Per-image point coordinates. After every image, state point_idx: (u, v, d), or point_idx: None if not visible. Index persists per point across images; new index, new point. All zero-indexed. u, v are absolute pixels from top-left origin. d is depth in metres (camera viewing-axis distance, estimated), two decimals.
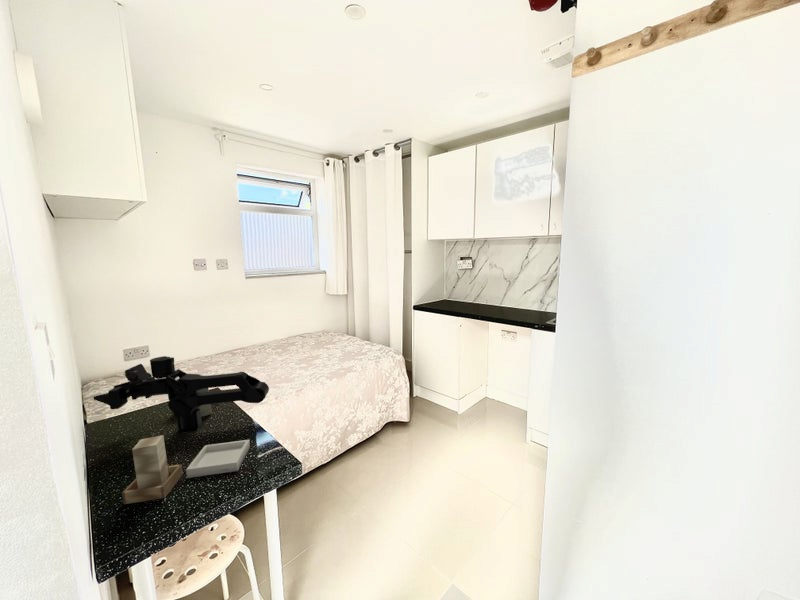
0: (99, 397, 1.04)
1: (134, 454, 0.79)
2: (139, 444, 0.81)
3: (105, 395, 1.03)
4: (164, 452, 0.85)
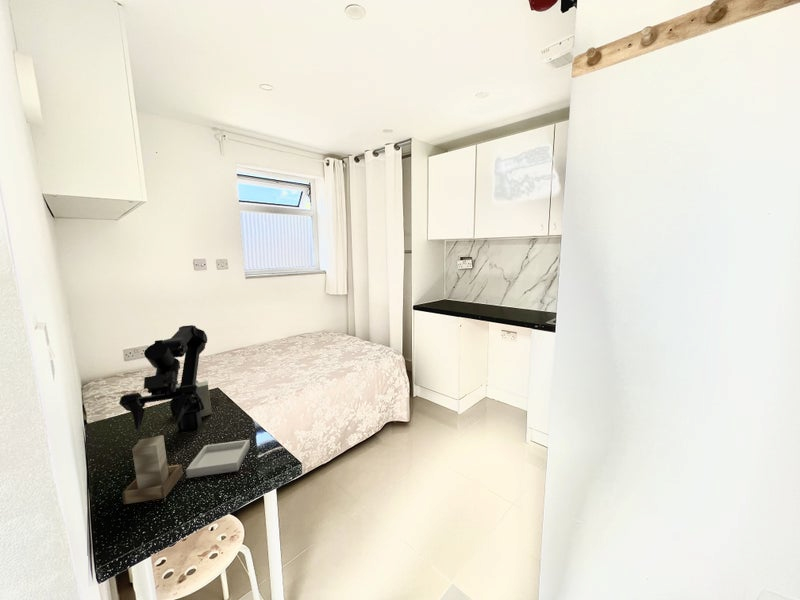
0: (180, 414, 0.91)
1: (134, 454, 0.79)
2: (139, 444, 0.81)
3: (183, 405, 0.92)
4: (164, 452, 0.85)
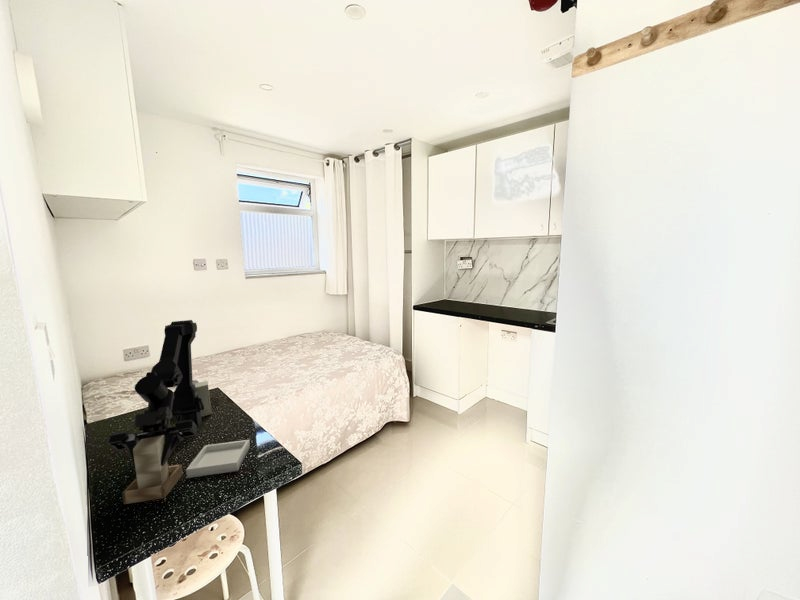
0: (166, 455, 0.83)
1: (135, 454, 0.79)
2: (140, 443, 0.81)
3: (170, 445, 0.84)
4: None
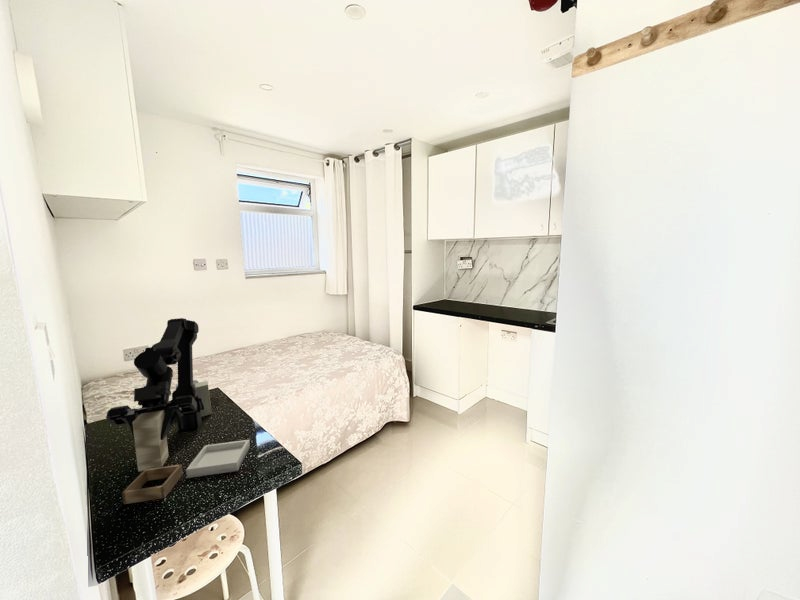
0: (166, 430, 0.83)
1: (134, 427, 0.78)
2: (139, 417, 0.80)
3: (169, 420, 0.84)
4: None
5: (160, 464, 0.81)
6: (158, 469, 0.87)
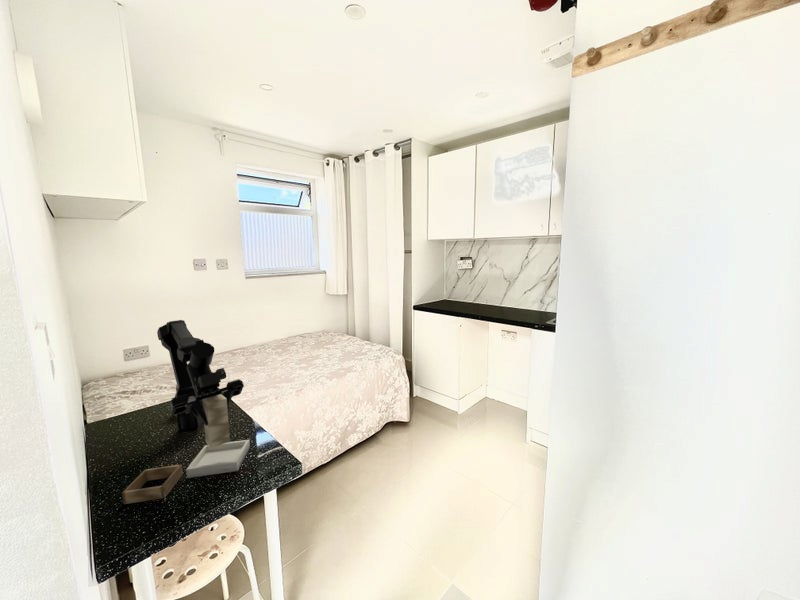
0: (228, 410, 0.94)
1: (208, 408, 0.88)
2: (207, 401, 0.90)
3: None
4: None
5: (228, 439, 0.93)
6: (158, 469, 0.87)
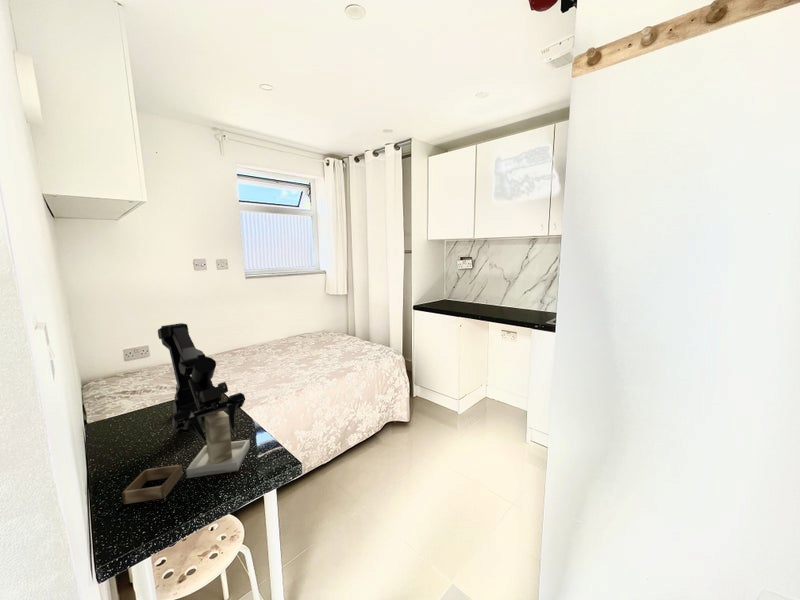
0: (233, 422, 0.96)
1: (211, 426, 0.89)
2: (210, 418, 0.91)
3: None
4: None
5: (231, 455, 0.93)
6: (158, 469, 0.87)
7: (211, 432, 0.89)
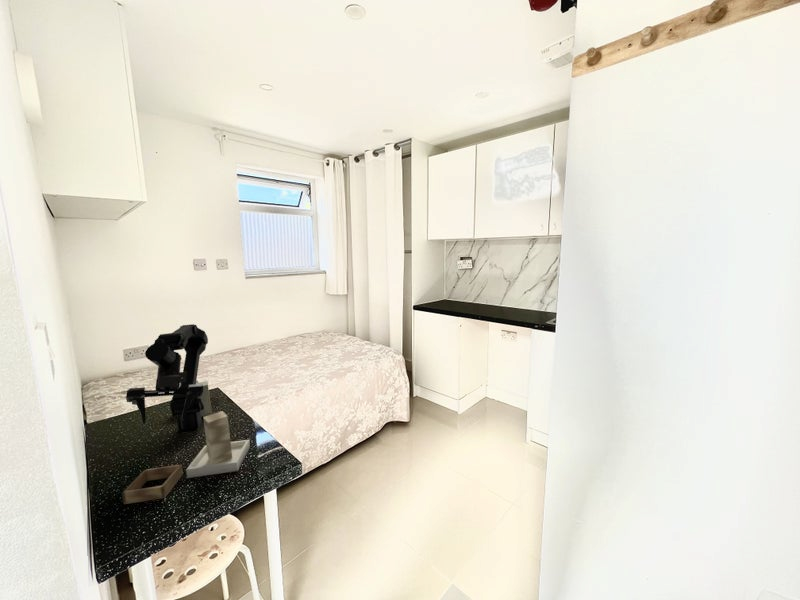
0: (186, 412, 0.97)
1: (210, 426, 0.89)
2: (209, 419, 0.91)
3: None
4: None
5: (231, 455, 0.93)
6: (158, 469, 0.87)
7: (210, 433, 0.89)
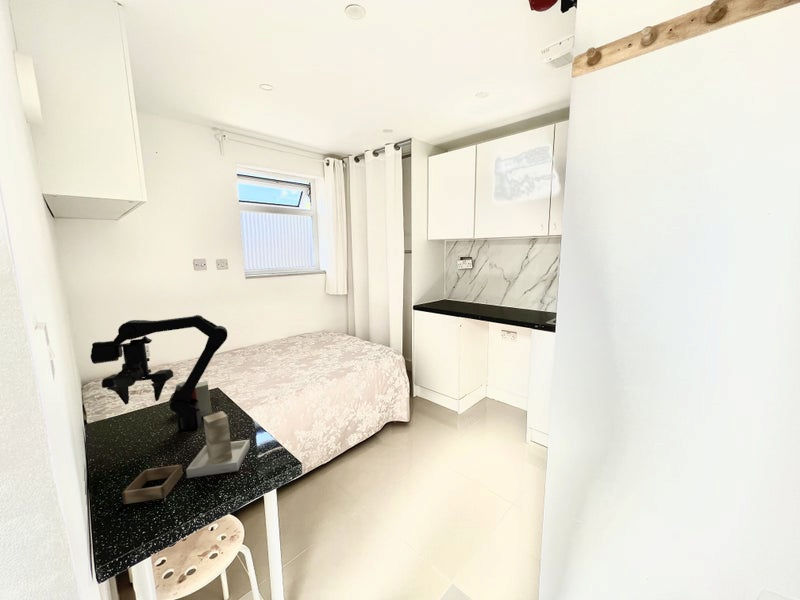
0: (158, 394, 1.08)
1: (210, 426, 0.89)
2: (209, 419, 0.91)
3: (158, 389, 1.07)
4: None
5: (231, 455, 0.93)
6: (158, 469, 0.87)
7: (210, 433, 0.89)
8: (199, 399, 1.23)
